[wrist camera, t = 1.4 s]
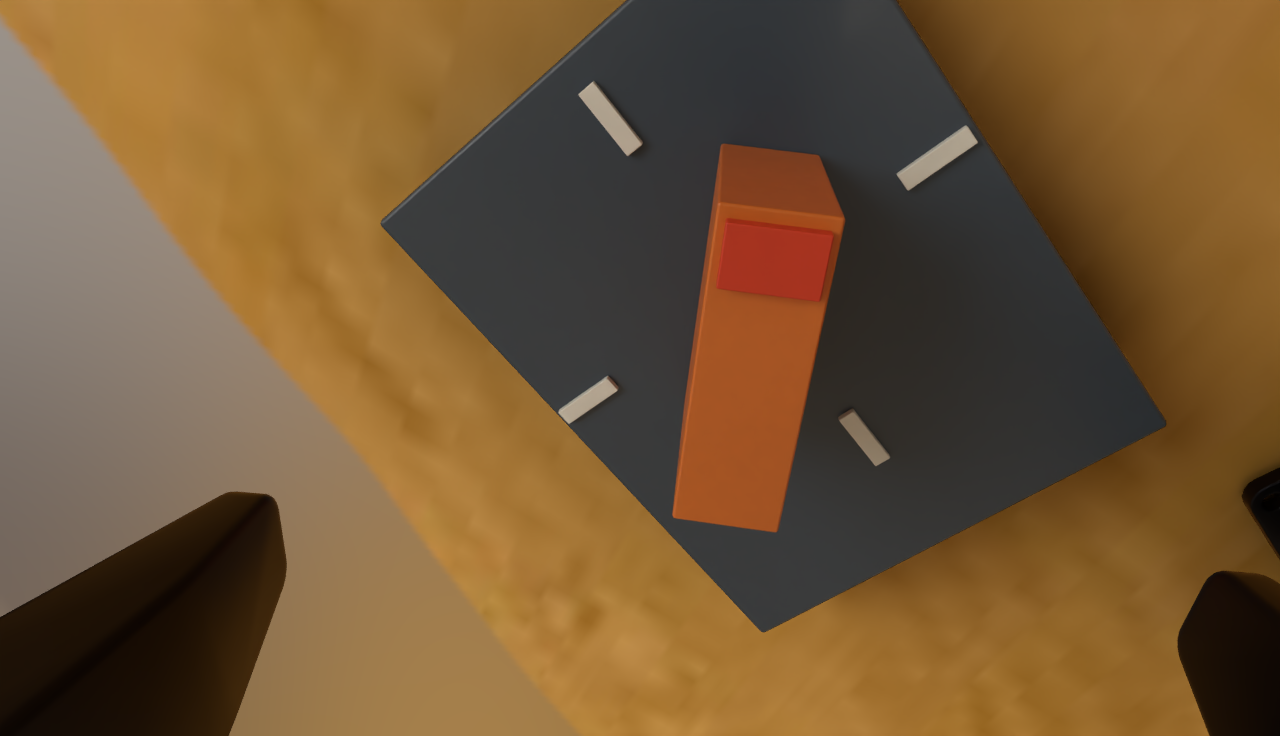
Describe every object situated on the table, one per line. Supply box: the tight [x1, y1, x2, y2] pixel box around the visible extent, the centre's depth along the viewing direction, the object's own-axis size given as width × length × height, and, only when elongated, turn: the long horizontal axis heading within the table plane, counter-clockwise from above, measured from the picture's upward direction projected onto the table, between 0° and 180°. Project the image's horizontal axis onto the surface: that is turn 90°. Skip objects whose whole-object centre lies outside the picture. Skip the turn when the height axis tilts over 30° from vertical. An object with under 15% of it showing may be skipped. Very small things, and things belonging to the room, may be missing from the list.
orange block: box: [672, 144, 845, 532], centre depth 15 cm, size 6×2×4 cm, turn 174°
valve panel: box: [381, 0, 1166, 632], centre depth 18 cm, size 13×10×3 cm
